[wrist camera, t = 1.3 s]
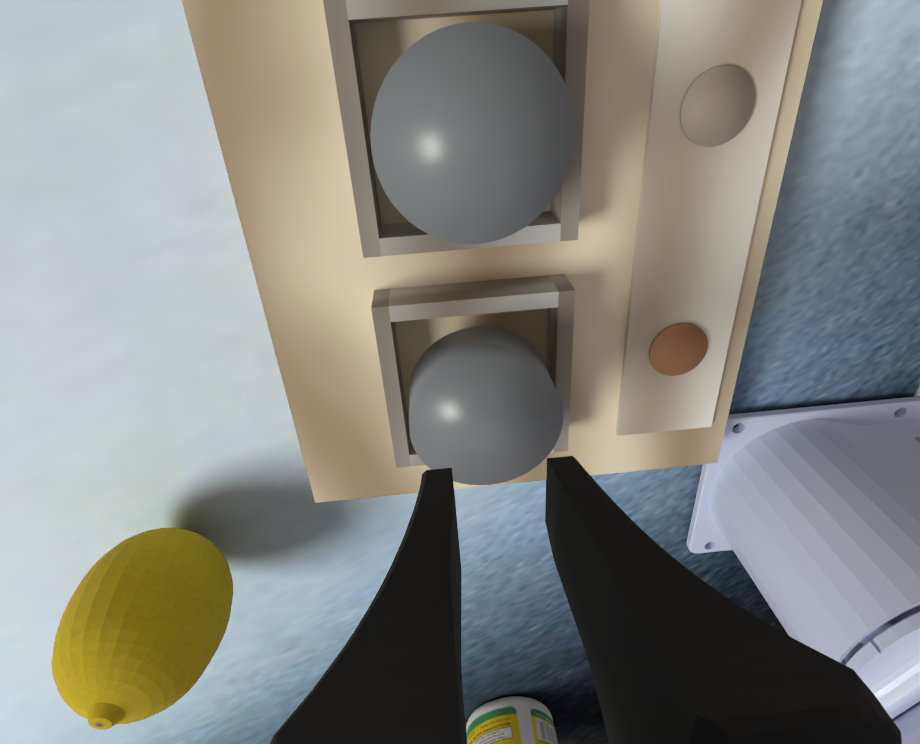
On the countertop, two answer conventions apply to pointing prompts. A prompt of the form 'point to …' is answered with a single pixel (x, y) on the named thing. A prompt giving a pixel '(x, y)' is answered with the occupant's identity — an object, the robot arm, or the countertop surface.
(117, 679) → the lemon
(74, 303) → the countertop surface
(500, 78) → the button mid
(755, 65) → the button board
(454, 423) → the button
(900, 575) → the robot arm
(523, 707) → the supplement bottle
